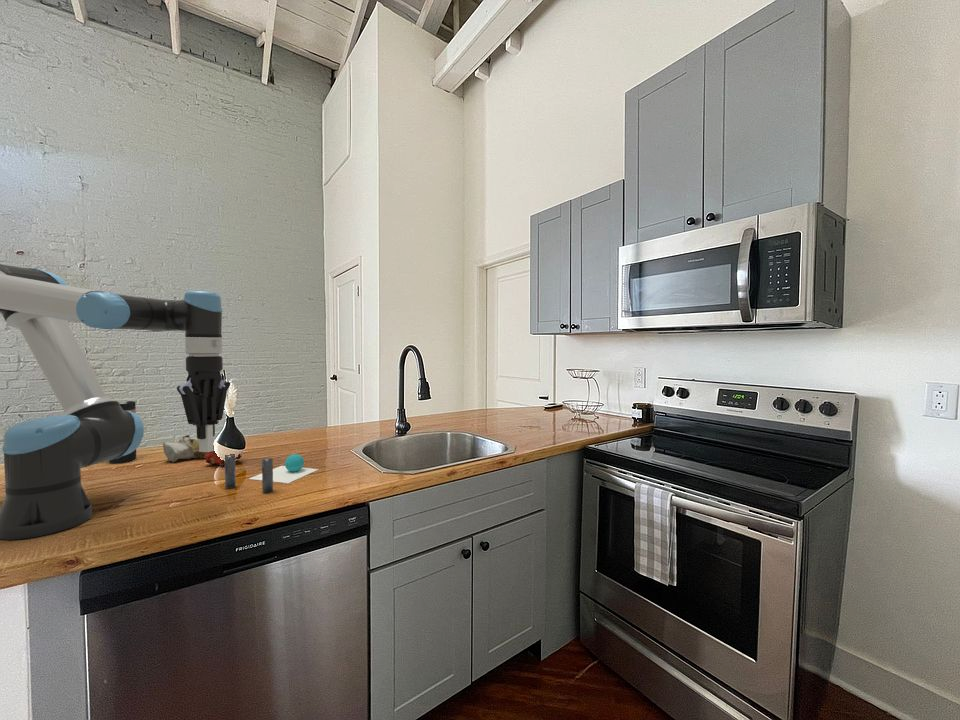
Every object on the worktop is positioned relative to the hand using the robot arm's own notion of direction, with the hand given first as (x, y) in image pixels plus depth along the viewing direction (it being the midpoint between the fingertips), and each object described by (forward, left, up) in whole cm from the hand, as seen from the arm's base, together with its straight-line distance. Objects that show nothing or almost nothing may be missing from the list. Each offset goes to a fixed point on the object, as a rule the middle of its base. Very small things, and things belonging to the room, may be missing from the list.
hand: (206, 451), depth 104 cm
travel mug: (+24, +63, -14) cm, 69 cm away
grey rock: (+33, +44, -14) cm, 57 cm away
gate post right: (+13, -6, -14) cm, 20 cm away
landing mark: (+27, 0, -14) cm, 30 cm away
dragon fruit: (+30, +27, -14) cm, 43 cm away
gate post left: (+13, +6, -14) cm, 20 cm away
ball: (+30, -1, -11) cm, 32 cm away
